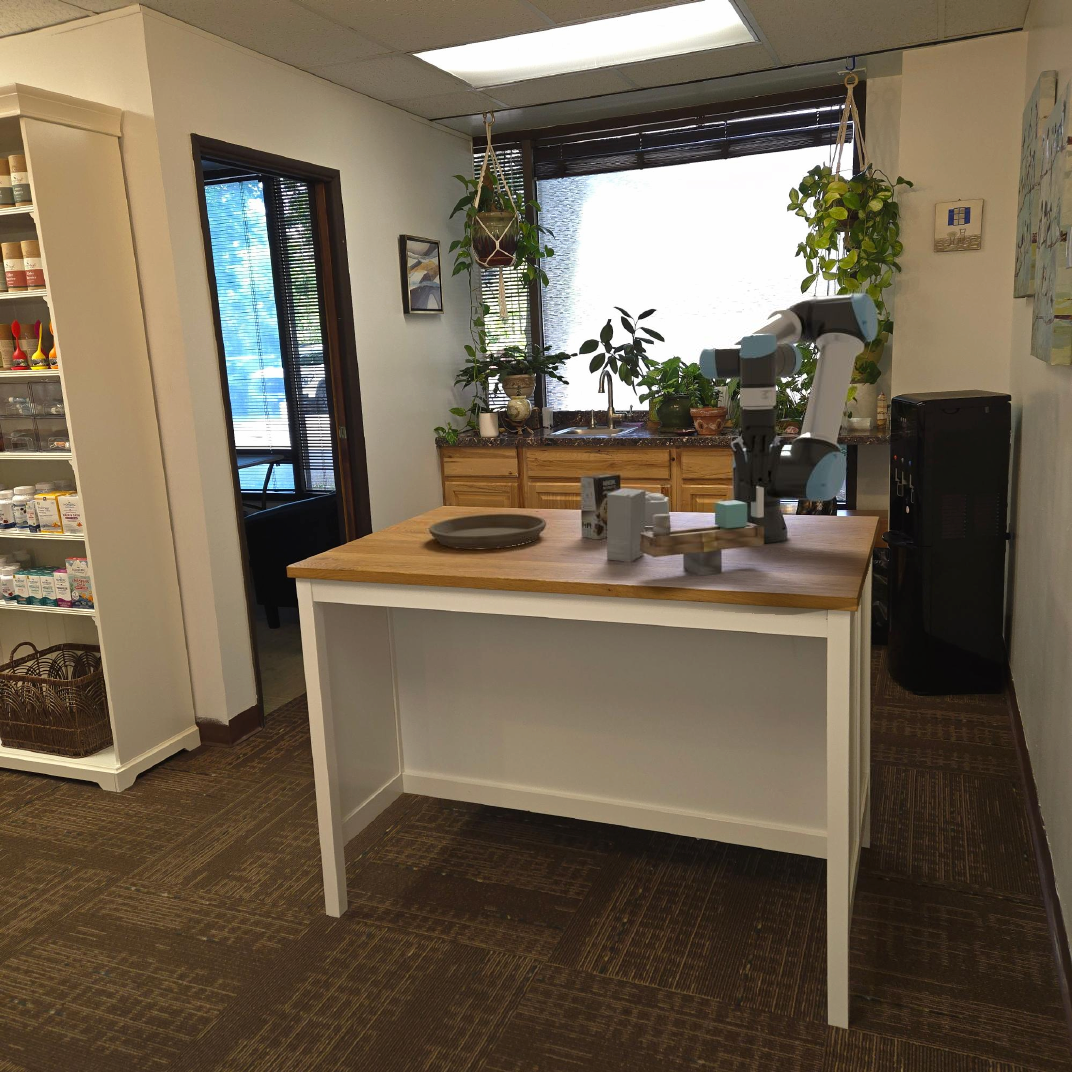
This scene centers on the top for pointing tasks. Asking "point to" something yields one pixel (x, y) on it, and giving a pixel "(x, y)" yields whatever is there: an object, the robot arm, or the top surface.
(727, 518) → the block
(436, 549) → the top surface
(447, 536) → the plant saucer
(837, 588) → the top surface
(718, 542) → the beam
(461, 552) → the top surface
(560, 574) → the top surface
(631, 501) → the skincare box
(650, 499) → the lumpy-topped squat cylinder
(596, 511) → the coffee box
